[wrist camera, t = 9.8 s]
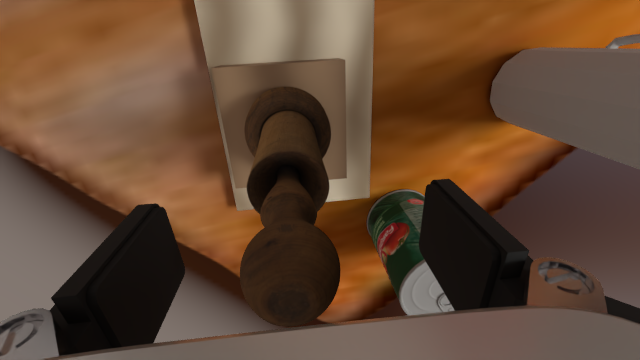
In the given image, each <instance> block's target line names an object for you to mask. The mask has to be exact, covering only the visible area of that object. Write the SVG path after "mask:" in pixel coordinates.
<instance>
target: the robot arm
mask: <svg viewBox="0 0 640 360" xmlns="http://www.w3.org/2000/svg"><path fill="white" fill-rule="evenodd" d="M419 250H420V252H421V254H422V256H423V258H424V260H425V261H426V263H427V265H428V266H429V268H430V270H431V271H432V273H433V275H434V276H435V278H436V280H437V281H438V283H439V285H440V286H441V288H442V290H443V292H444V293H445V295H446V297H447V298H448V300H449V302H450V303H451V305H452V307H453V308H454V310H455V311H448V312H437V313H427V314H418V315H408V316H398V317H388V318H379V319H370V320H359V321H350V322H340V323H331V324H322V325H312V326H304V327H295V328H285V329H276V330H267V331H258V332H248V333H239V334H231V335H222V336H213V337H205V338H196V339H187V340H178V341H170V342H162V343H153V342H154V340H155V338H156V336H157V334H158V332H159V329H160V327H161V325H162V323H163V321H164V319H165V316H166V314H167V312H168V310H169V307H170V305H171V303H172V301H173V299H174V297H175V295H176V292H177V290H178V288H179V286H180V284H181V281H182V279H183V277H184V274H185V266H184V263H183V260H182V257H181V254H180V251H179V249H178V245H177V242H176V240H175V237H174V234H173V231H172V228H171V225H170V222H169V219H168V216H167V213H166V211H165V209H164V208H163V207H160V206H159V205H158V204H144V205H138V206H136V207H135V208H134V209H133V210H132V211H131V213H130V214H129V215H128V216H127V217H126V218H125V219H124V220H123V221H122V222H121V223H120V224H119V225H118V227H117V228H116V229H115V230H114V231H113V232H112V233H111V234H110V235H109V236H108V238H106V239H105V240H104V242H103V243H102V244H101V245H100V246H99V247H98V248H97V249H96V250H95V251H94V252H93V254H91V256H90V257H89V258H88V259H87V260H86V261H85V262H84V263H83V264H82V265H81V266H80V267H79V268H78V269H77V271H76V272H75V273H74V274H73V275H72V276H71V277H70V278H69V279H68V280H67V281H66V283H64V285H63V286H62V287H61V288H60V289H59V290H58V291H57V292H56V293H55V294H54V295H53V296H52V297H51V299H52V300H53V302H54V303H55V305H54V306H53V307H52V308H51V310H50V311H49V310H46V309H43V308H42V309H32V310H27V311H23V312H21V313H18V314H16V315H13V316H11V317H9V318H7V319H5V320H3V321H1V322H0V360H640V308H637V307H634V306H631V305H629V304H625V303H623V302H620V301H618V300H615V299H612V298H609V297H606V296H604V291H603V288H602V286H601V283H600V282H599V281H598V280H597V279H596V277H595V276H594V275H592V274H591V273H589V272H588V271H587V270H585V269H583V268H582V267H579V266H578V265H575V264H573V263H571V262H568V261H565V260H560V259H556V258H546V257H545V258H538V259H536V260H534V261H533V260H532V259H531V258H530V257H529V256H528V253H529V250H528V249H527V248H526V247H525V246H524V245H522V244H521V243H520V242H519V241H518V240H517V239H516V238H515V237H513V236H512V235H511V234H510V233H509V232H508V231H507V230H505V229H504V228H503V227H502V226H501V225H500V224H499V223H498V222H497V221H496V220H495V219H494V218H492V217H491V216H490V215H489V214H488V213H487V212H486V211H485V210H484V209H482V208H481V207H480V206H479V205H478V204H477V203H476V202H475V201H474V200H472V199H471V198H470V197H469V196H468V195H467V194H466V193H465V192H464V191H462V190H461V189H460V188H459V187H458V186H457V185H456V184H455V183H454V182H452V181H451V180H450V179H441V180H433V181H432V182H431V184H428V185H427V186H426V191H425V199H424V207H423V214H422V222H421V230H420V238H419Z"/></svg>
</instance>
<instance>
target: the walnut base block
mask: <svg viewBox="0 0 640 360" xmlns="http://www.w3.org/2000/svg"><path fill="white" fill-rule="evenodd" d="M212 73H213V78H214V83H215V88H216V93H217V98H218V103H219V108H220V113H221V118H222V123H223V128H224V133H225V138H226V143H227V148H228V153H229V158H230V163H231V168H232V173H233V178H234V183H235V188H236V189H237V188H247V181H248V177H249V174H250V171H251V168H252V165H253V162H254V158H255V157H254V156H253V155H252V153H251V152H250V150H249V148H248V146H247V143H246V139H245V132H244V128H245V121H246V117H247V115H248V112H249V110H250V108H251V106H252V104H253V103H254V101H255V100H256V99H257V98H258V97H259V96H260V95H262V94H263V93H265V92H266V91H268V90H270V89H273V88H277V87H295V88H299V89H301V90H304V91H306V92H308V93H309V94H311V95H312V96H314V97H315V98H316V99H317V100H318V101H319V102H320V104H321V105H322V107H323V108H324V110H325V112H326V115H327V117H328V119H329V122H330V127H331V140H330V145H329V148H328V150H327V152H326V154H325V156H324V157H323V159H322V160H323V163H324V166H325V169H326V172H327V175H328V179H329V180H333V179H344V178H347V152H346V75H345V60H344V59H340V58H333V59H317V60H300V61H284V62H268V63H252V64H236V65H220V66H217V67H214V68H212Z"/></svg>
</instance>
